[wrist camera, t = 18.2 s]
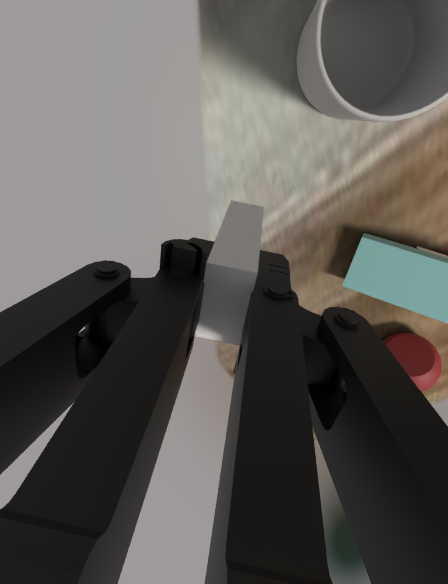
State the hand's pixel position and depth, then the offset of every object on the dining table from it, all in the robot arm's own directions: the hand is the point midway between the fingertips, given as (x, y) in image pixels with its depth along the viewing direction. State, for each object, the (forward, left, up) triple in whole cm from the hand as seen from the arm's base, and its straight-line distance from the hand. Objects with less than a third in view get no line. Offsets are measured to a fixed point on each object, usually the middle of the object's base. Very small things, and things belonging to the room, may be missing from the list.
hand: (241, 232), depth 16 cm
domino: (+5, +11, -16) cm, 20 cm away
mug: (-10, +7, -17) cm, 21 cm away
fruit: (+16, +20, -17) cm, 30 cm away
